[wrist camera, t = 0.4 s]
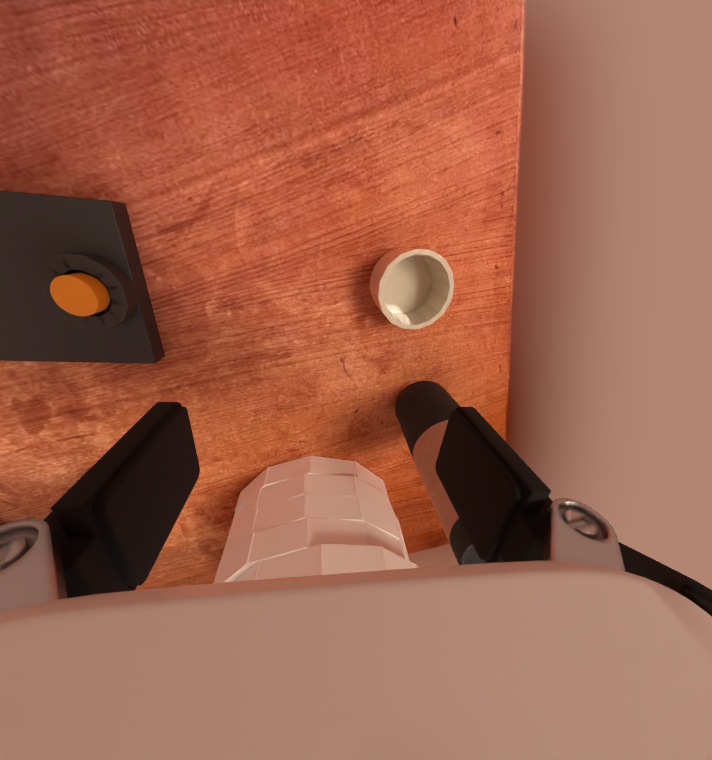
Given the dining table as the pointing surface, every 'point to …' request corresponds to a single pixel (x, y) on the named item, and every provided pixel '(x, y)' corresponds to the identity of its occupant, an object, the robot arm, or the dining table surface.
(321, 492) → the container
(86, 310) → the button
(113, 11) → the dining table surface
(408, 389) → the travel mug
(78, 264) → the scale
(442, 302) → the bowl
